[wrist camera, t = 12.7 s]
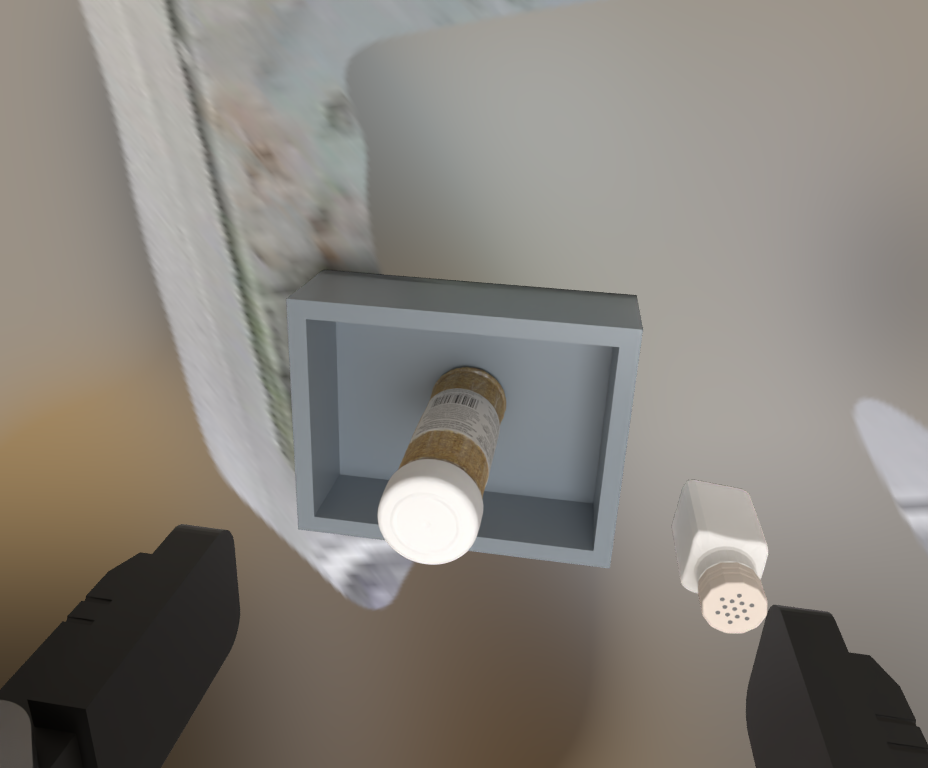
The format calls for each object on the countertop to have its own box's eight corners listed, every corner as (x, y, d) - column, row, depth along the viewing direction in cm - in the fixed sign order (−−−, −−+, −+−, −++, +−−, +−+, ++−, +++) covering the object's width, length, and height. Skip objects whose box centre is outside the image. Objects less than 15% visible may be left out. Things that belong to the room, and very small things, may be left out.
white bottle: (732, 541, 48) (763, 648, 39) (668, 528, 48) (684, 631, 40) (751, 486, 46) (787, 585, 38) (684, 473, 47) (704, 568, 38)
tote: (323, 269, 45) (286, 298, 40) (636, 295, 43) (642, 329, 37) (330, 478, 51) (298, 529, 45) (607, 510, 48) (609, 568, 43)
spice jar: (424, 421, 47) (365, 550, 35) (442, 354, 45) (386, 466, 33) (496, 443, 47) (462, 581, 34) (518, 377, 45) (490, 498, 32)
